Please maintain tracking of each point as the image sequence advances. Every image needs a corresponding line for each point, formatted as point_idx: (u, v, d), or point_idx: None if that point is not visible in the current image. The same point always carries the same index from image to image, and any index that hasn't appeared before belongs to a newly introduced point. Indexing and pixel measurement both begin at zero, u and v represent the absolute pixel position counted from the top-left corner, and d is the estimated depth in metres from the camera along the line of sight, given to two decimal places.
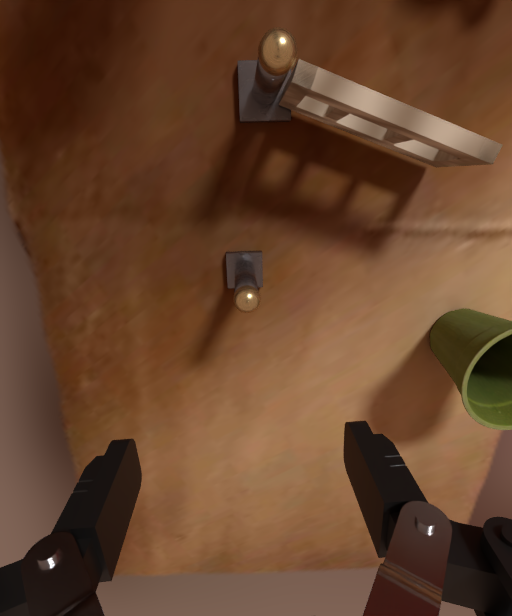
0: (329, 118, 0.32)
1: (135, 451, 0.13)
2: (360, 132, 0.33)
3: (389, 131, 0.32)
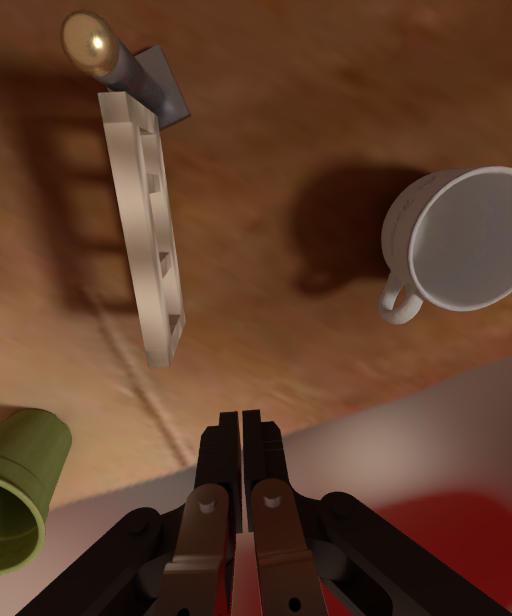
0: None
1: (238, 423, 0.14)
2: None
3: (160, 254, 0.28)
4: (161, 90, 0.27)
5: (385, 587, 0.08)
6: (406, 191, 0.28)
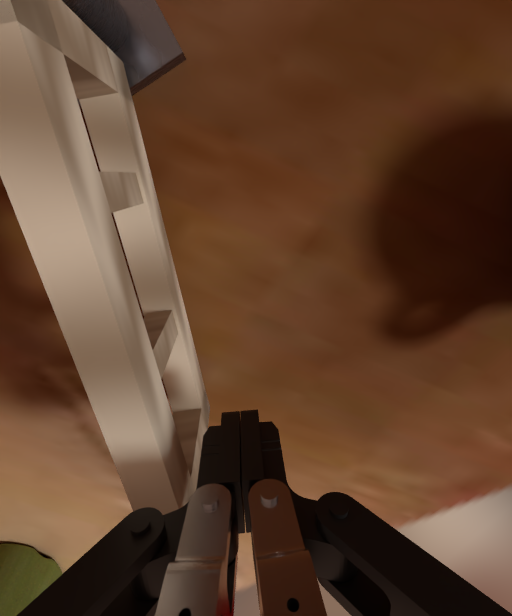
0: None
1: (240, 423, 0.14)
2: None
3: (156, 317, 0.16)
4: (125, 10, 0.14)
5: (383, 587, 0.08)
6: None
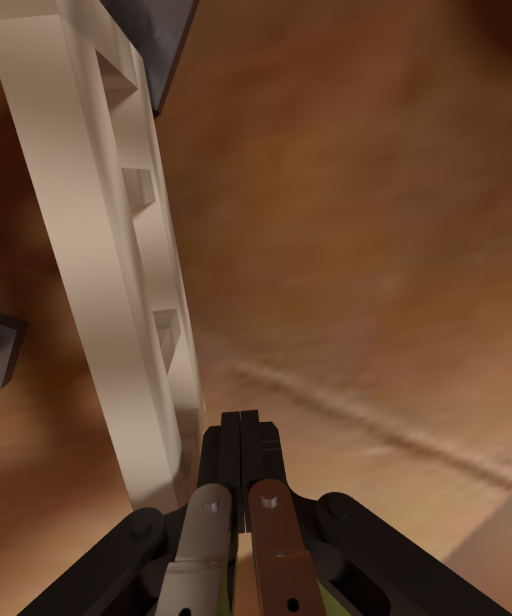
0: None
1: (240, 423, 0.14)
2: None
3: (160, 315, 0.16)
4: None
5: (383, 587, 0.08)
6: None
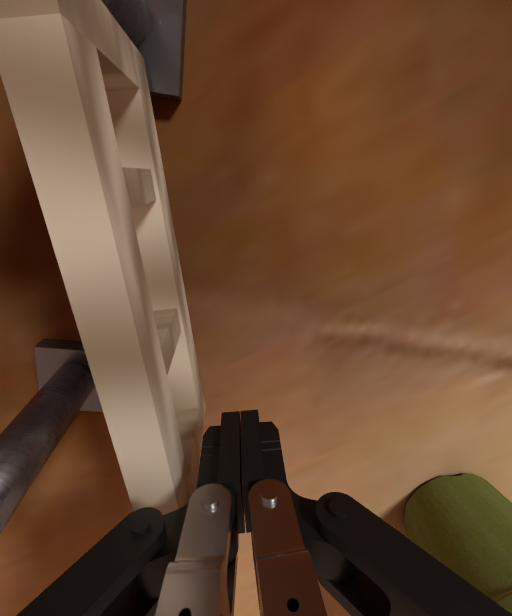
0: None
1: (240, 423, 0.14)
2: None
3: (161, 315, 0.16)
4: None
5: (383, 587, 0.08)
6: None
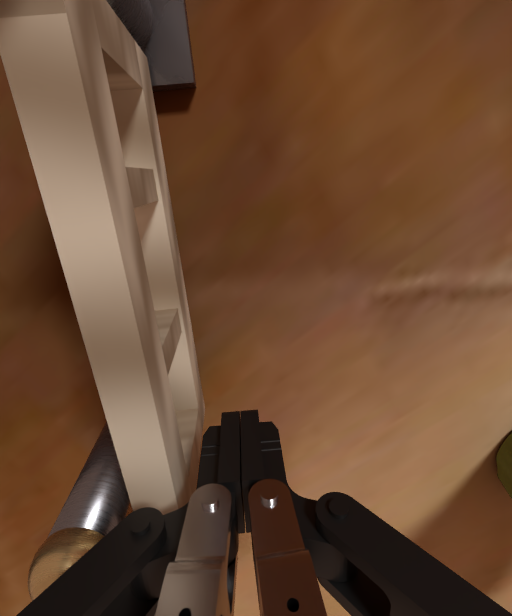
0: None
1: (240, 423, 0.14)
2: None
3: (162, 315, 0.16)
4: None
5: (383, 587, 0.08)
6: None
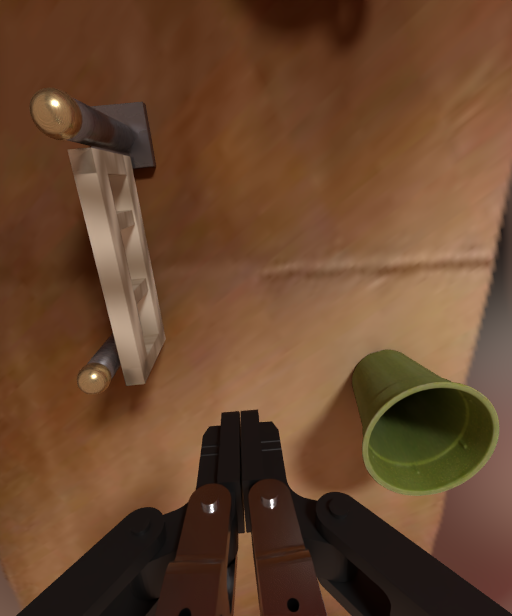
0: None
1: None
2: None
3: (137, 280, 0.31)
4: (118, 121, 0.30)
5: (383, 587, 0.08)
6: None
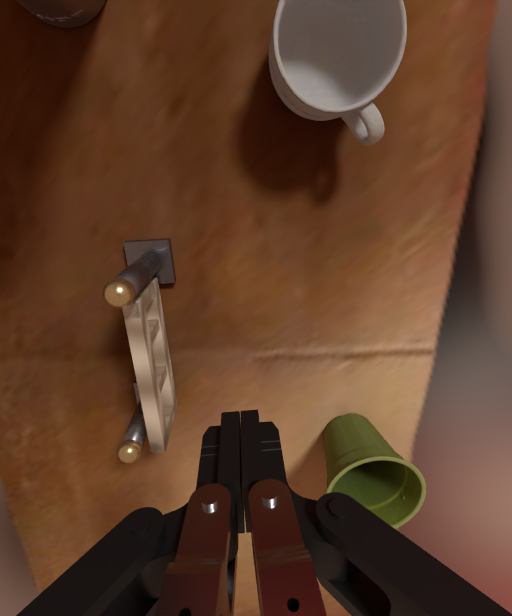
0: None
1: None
2: None
3: (159, 369, 0.41)
4: (149, 252, 0.39)
5: (383, 587, 0.08)
6: (274, 86, 0.32)
